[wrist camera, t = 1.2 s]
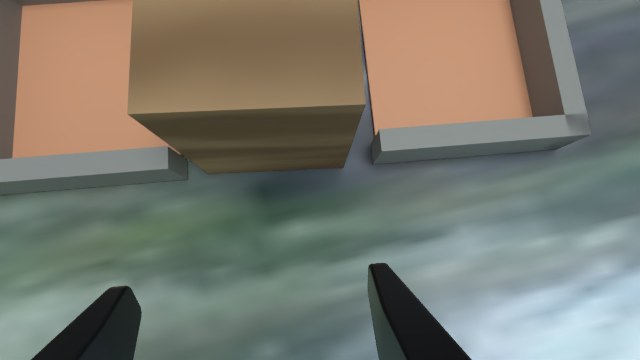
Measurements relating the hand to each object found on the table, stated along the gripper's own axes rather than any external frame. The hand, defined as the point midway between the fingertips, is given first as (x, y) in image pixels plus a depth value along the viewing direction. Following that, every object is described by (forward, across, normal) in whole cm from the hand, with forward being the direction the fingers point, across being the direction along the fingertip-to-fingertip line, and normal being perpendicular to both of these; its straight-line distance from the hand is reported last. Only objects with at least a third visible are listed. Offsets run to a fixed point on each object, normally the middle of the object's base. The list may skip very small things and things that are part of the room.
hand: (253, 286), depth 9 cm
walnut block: (+18, 0, 0) cm, 18 cm away
